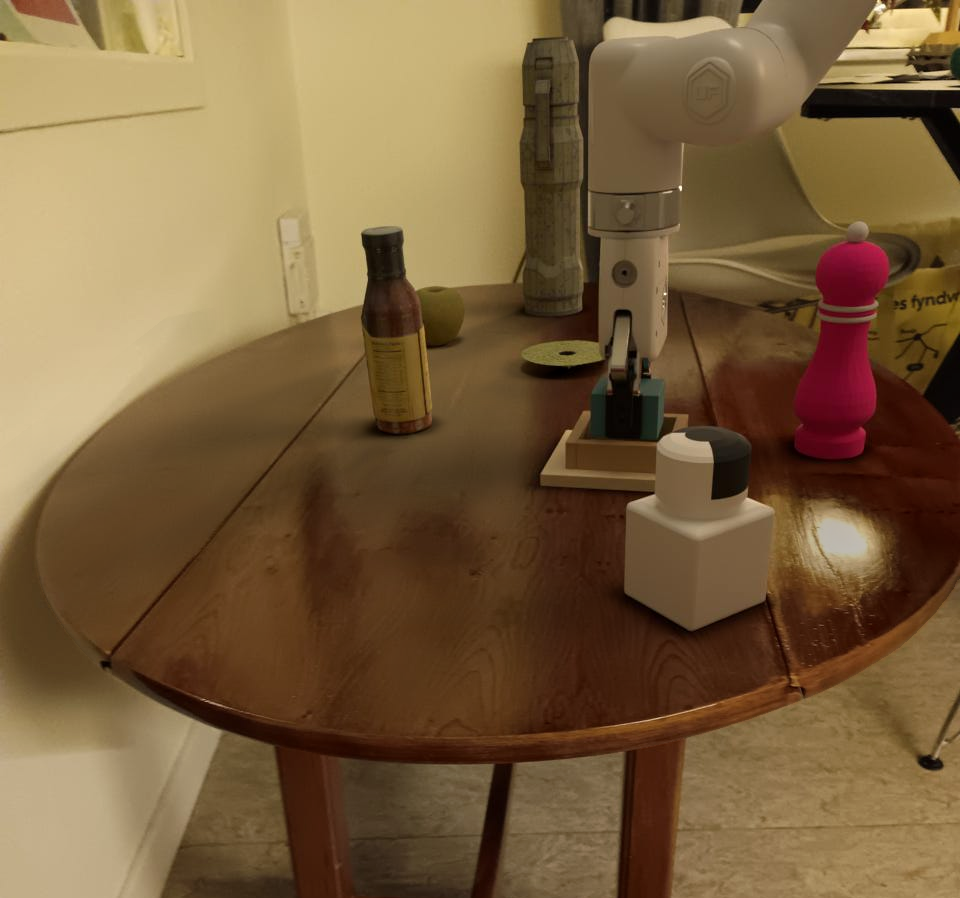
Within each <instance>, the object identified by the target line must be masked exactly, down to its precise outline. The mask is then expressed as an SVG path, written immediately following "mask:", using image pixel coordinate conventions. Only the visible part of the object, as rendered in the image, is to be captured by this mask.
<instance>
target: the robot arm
mask: <svg viewBox="0 0 960 898" xmlns="http://www.w3.org/2000/svg"><path fill="white" fill-rule="evenodd" d="M879 1H880V0H761V2H760V3H759V5H758V6H757V8H756V9H755V10H754V12H753V13H752V15H751V16H750V17H749V19H748V20H747V22H746V23H745V24H744V26H738V27H730V28H729V27H727V28H720V29H714V30H709V31H704V32H700V33H697V34H693V35H687V36H683V37H679V38H677V37H675V36H669V35H651V36H650V35H649V36H634V37H632V36H631V37H620V38H612V39H607V40H603V41H602V42H600V43H598V44H597V45H596V46H595V47H594V48H593V50H592V52H591V55H590V58H589V64H588V65H589V66H588V134H587V135H588V137H587V138H588V141H587V142H588V144H587V145H588V155H587V156H588V157H587V159H588V160H587V161H588V162H587V166H588V167H587V176H588V177H587V234H588V235H590V236H591V237H595V238H600V247H599V248H600V249H599V252H600V253H599V264H598V266H599V277H598V278H599V279H598V343H599V353H600V356H601V357H602V358H603V359H604V360H603V361H605V362H606V361H607V363H608V364H607V377H606V378H607V392H606V406H605V436H606V437H607V438H616V439H639V438H640V437H641V435H642V415H643V393H640V383H641V379H652V376H653V375H652V373H650V372H651V363H653V362H654V361H656V359H657V358H658V357H659V356H660V354H661V352H662V349H663V348H664V345H665V342H666V339H667V335H668V301H669V298H668V297H669V295H668V294H669V236H670V235H673V234H676V233H679V232H680V228H681V211H682V208H681V207H682V191H683V190H682V188H683V185H682V184H683V169H684V167H683V166H684V147H685V144H687V145H688V144H689V145H692V146H693V145H694V146H700V147H708V148H721V147H728V146H733V145H736V144H739V143H742V142H745V141H747V140H748V141H749V140H750V139H753V138H756V137H759V136H763V135H766V134H768V133H770V132H772V131H775V130H777V129H778V128H779V127H781V126H783V124H785V123H787V121H789V120H790V119H791V118H792V117H793V116H794V115H795V114H796V113H797V112H798V110H799V109H800V108H801V107H802V105H804V103H805V102H806V101H807V100H808V98H809V97H810V96H811V94H812V93H814V91H815V90H816V88H817V87H818V85H819V84H820V83H821V82H822V80H823V79H824V77H825V76H826V75H827V73H828V72H829V71H830V70H831V69H832V68H833V66H834V64H835V63H836V62H837V61H838V59H839V58H840V56H842V54H843V53H844V52H845V50H846V49H847V47H849V45H850V44H851V42H852V41H853V39H854V38H855V37H856V36H857V34H858V32H859V31H860V30H861V28H862V27H863V26H864V24H865V22H866V21H867V20H868V19H869V16H870V15H871V14H872V13H873V11H874V9H875V8H876V6H877V5H878V3H879Z"/></svg>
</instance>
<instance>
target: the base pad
mask: <svg viewBox="0 0 960 898" xmlns="http://www.w3.org/2000/svg"><path fill="white" fill-rule="evenodd" d="M686 427H689V414H688V413H664V419H663V424H662V427H661V430H660V432H659V435H658V438H657V440H648V439H616V438H602V437H590V410H583V411H582V413H581V415H580V416H579V418H578V420H577V421H576V424H575V425H574V427H573V429H566V430H565V431H564V433H563V434H562V436H561V438H560V440H559V442H558V443H557V445H556V447H555V448H554V450H553V452H552V454H550V455H551V456H550V457H549V459H548V460H547V462H546V463H545V465H544V468H543V469H542V471H541V472H540V478H539V479H540V486H541V487H558V488H574V489H575V488H578V489H594V490H612V491H613V490H614V491H628V492H629V491H630V492H631V491H633V492H650V493H655V476H656V452H657V443H658V442H659V441H660V440H661V439H662V437H663V436H665V435H666V434H668V433H670V432H673V431H676V430H678V429H682V428H686Z"/></svg>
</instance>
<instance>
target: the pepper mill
mask: <svg viewBox="0 0 960 898" xmlns="http://www.w3.org/2000/svg"><path fill="white" fill-rule="evenodd" d="M869 233H870V231H869V227H868V225H867V224H866V222H863V221H860V220H859V221H855V222H852V223H851V224H850V225H849V226H848V228H847V229H846V233H845V234H846V235H845V236H846V239H847V241H846V240H845V241H842V242H839V243H837V244H836V243H835V244H834V245H833V246H830V247H829V248H828V249H827V250H826V251H825V252H824V253H823V254H822V255H821V256H820V258H819V260H818V263H817V265H816V269H815V277H814V281H815V285H816V288H817V290H818V291H819V293H820V294H821V295H822V298H821V299H819V300H818V302H817V306H818V310H817V311H816V317H817V318H818V319H820V327H819V335H818V340H817V344H816V348H815V350H814V353H813V355H812V359H811V361H810V362H809V364H808V366H807V368H806V369H805V371H804V373H803V375H802V376H801V378H800V380H799V383H798V386H797V387H796V390H795V393H794V397H793V404H792V405H793V406H792V407H793V411H794V414H795V415H796V417H797V418H798V420H799V421H800V422H801V424H799V425H798V426H797V427H796V428H795V434H794V442H793V443H794V444H793V445H794V449H795V450H796V451H797V452H798V453H800V454H802V455H804V456H806V457H811V458H815V459H820V460H822V459H823V460H844V459H845V460H846V459H851V458H854V457H855V458H856V457H857V456H859V455H861V454H862V453H863V451H864V448H865V442H866V435H867V433H866V430H865V429H864V428H863V427H862V426H864V425H865V424H866V423H867V422H868V421H869V420H871V418H872V417H873V416H874V414H875V412H876V409H877V387H876V382H875V378H874V375H873V371H872V367H871V363H870V360H869V352H868V342H869V341H868V340H869V331H870V326H871V322H872V321H873V320H875V319H876V317H877V316H878V314H877V308H878V307H879V301H877V300H876V297H877V296H878V294H879V293H880V292H882V291H883V290H884V288H885V287H886V285H887V283H888V281H889V276H890V262H889V256H887V254H886V252H885V250H883V249H882V247H880V246H879V245H877V244H876V243H873V242H869V241H866V239H867V238H868V236H869Z"/></svg>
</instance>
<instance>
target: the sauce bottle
mask: <svg viewBox="0 0 960 898" xmlns="http://www.w3.org/2000/svg"><path fill="white" fill-rule="evenodd" d="M360 236H361V245H362V247H363V250H364V254H365V262H366V269H367V272H366V276H367V281H366V286H365V287H366V288H365V292H364V298H363V305H362V310H361V314H360V324H361V329H362V338H363V345H364V354H365V360H366V367H367V374H368V381H369V390H370V397H371V405H372V411H373V416H374V418H375V425H376V426H377V428H378V430H379V431H382V432H384V433H388V434H393V435H410V434H414V433H417V432H422V431H424V430H427V429H428V428H429V427H430V426H431V425H432V421H433V416H432V410H433V402H432V392H431V381H430V373H429V372H430V371H429V363H428V362H429V361H428V354H427V353H428V352H427V346H426V342H425V332H424V324H423V323H422V313H421V304H420V300H419V297H418V295H417V293H416V291H417V290H416V289H415V288H414V286H413V285H412V284H411V282H410V281H409V280H408V279H407V268H406V265H405V256H404V249H403V247H404V243H405V238H404V230H403V228H402V227H401V226H397V225H383V226H375V227H369V228H368V227H367V228H365V229H363V230H362V231H361V233H360Z"/></svg>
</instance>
